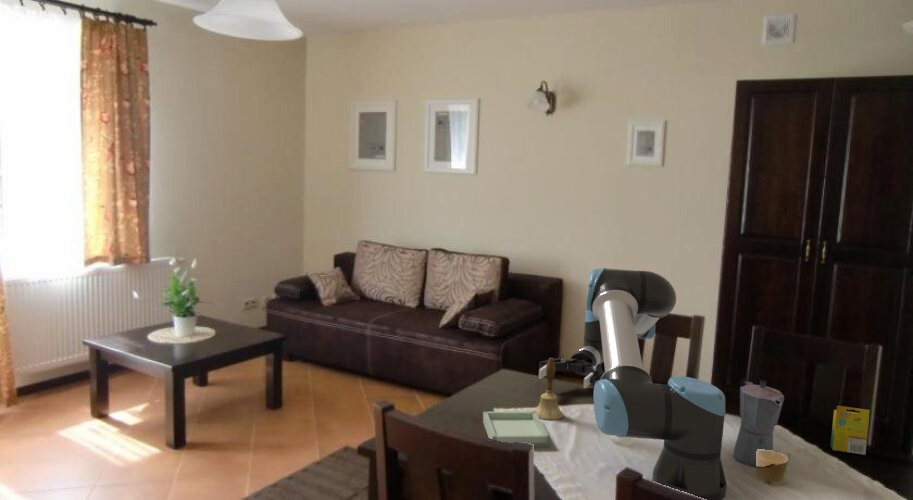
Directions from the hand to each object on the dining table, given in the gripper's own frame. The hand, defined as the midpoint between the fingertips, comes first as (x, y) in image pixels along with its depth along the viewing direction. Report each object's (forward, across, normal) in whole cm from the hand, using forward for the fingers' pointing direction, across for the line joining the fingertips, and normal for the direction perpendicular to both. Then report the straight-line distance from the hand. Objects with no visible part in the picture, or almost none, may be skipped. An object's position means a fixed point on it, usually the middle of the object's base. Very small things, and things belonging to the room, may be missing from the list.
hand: (561, 378), depth 186 cm
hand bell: (+10, 0, -8) cm, 12 cm away
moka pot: (+8, -51, -8) cm, 52 cm away
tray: (+27, +2, -8) cm, 28 cm away
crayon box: (-11, -72, -8) cm, 73 cm away
